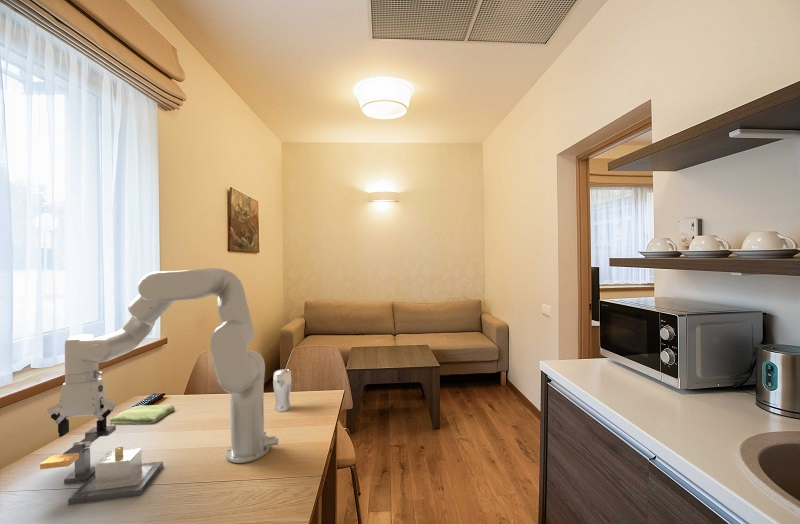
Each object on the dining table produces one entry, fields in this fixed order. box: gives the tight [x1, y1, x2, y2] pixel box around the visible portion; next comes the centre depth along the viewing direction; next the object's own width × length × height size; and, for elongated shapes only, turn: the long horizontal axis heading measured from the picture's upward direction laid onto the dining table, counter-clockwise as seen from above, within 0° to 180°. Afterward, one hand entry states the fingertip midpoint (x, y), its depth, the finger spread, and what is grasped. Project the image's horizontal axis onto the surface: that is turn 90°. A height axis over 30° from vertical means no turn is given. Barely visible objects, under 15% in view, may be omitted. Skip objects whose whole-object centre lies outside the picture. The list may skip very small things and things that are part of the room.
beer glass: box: [272, 368, 292, 413], centre depth 143 cm, size 7×7×15 cm
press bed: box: [63, 447, 164, 505], centre depth 97 cm, size 23×15×7 cm, turn 102°
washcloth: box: [108, 403, 175, 425], centre depth 137 cm, size 13×18×3 cm
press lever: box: [39, 425, 117, 470], centre depth 100 cm, size 6×21×2 cm, turn 12°
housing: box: [94, 446, 143, 487], centre depth 97 cm, size 8×6×8 cm
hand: (82, 433), depth 107 cm, fingers open, 9 cm apart
